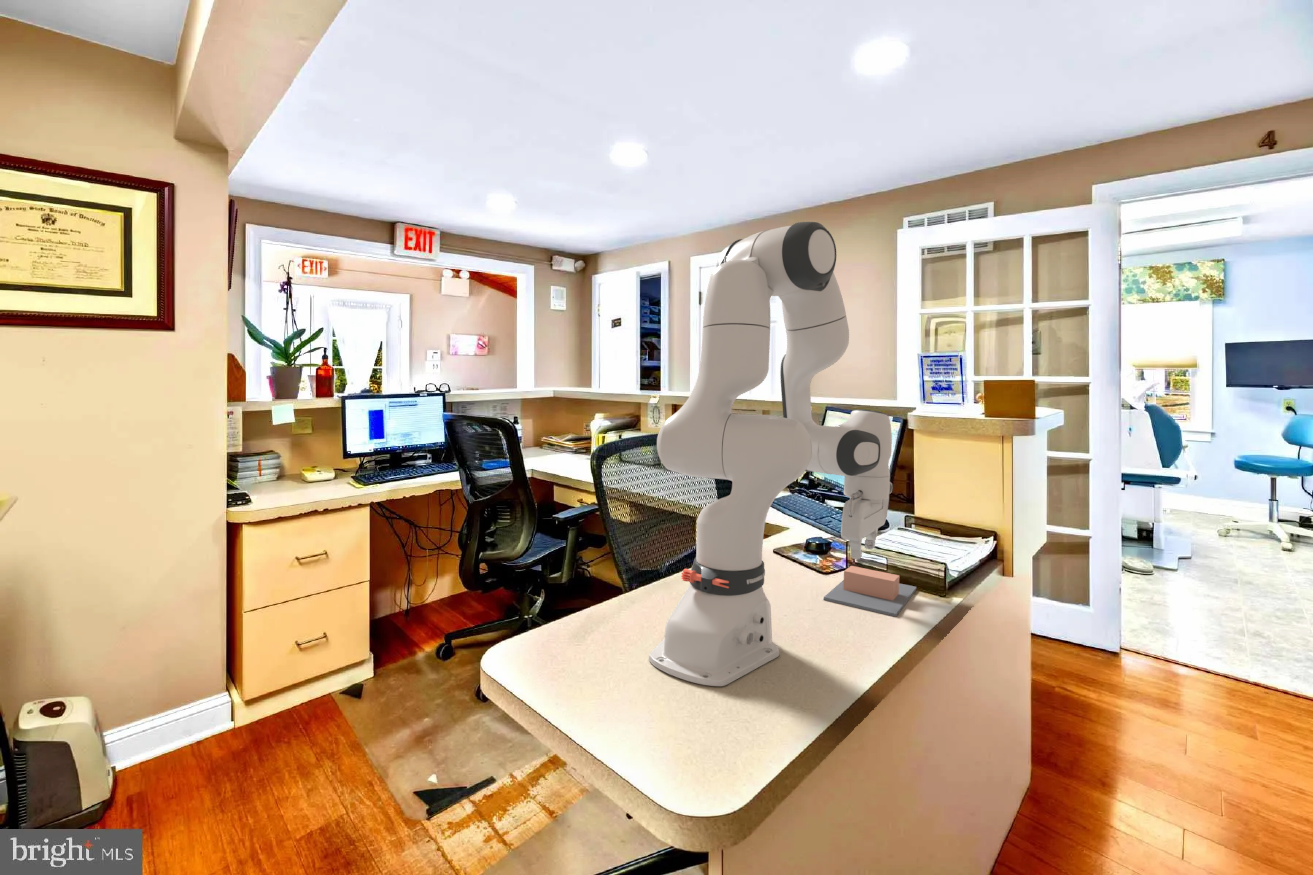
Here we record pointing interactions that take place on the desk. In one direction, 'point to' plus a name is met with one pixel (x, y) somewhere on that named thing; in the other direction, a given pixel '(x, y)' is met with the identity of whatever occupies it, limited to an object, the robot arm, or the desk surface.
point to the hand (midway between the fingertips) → (863, 553)
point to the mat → (871, 599)
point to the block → (871, 582)
